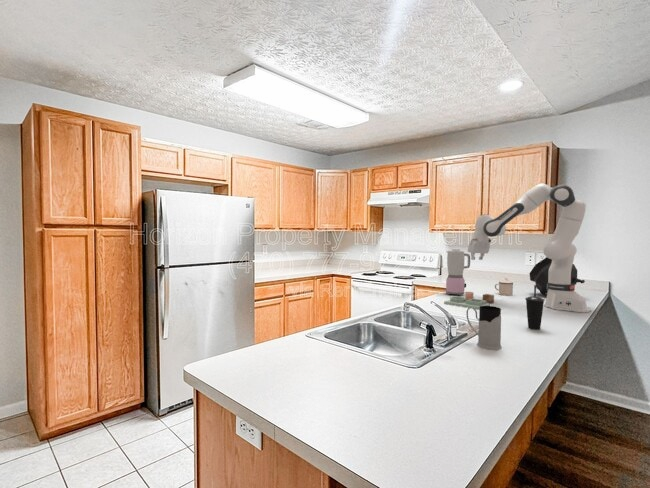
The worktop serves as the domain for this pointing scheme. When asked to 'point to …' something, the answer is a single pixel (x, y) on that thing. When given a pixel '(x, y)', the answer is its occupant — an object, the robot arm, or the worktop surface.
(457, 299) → the shape board
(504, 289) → the teacup with lid
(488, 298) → the square piece
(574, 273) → the wok
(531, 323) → the drinking cup
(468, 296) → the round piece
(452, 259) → the blender
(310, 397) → the worktop surface
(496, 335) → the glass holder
